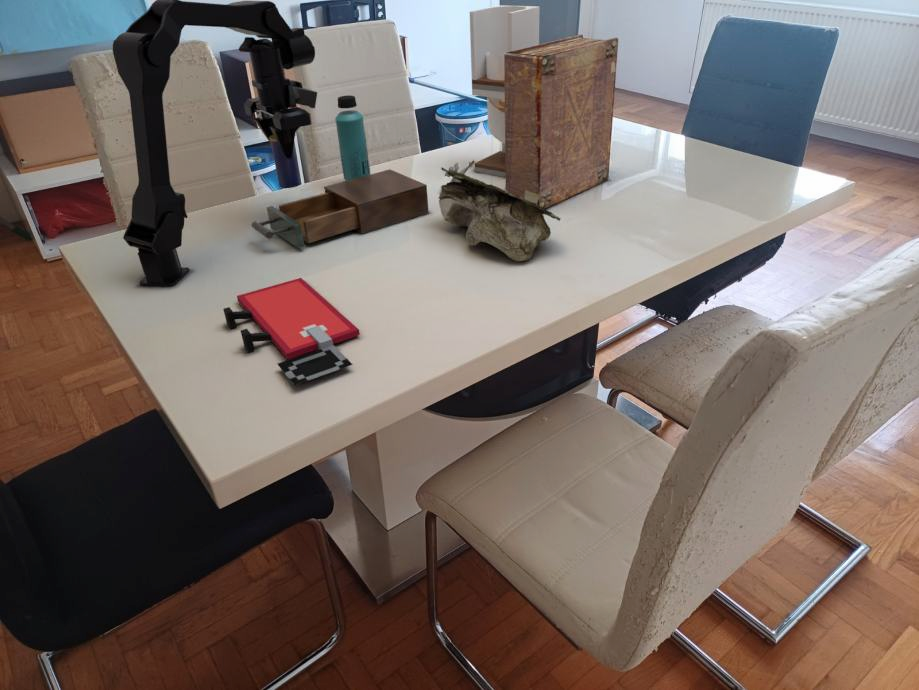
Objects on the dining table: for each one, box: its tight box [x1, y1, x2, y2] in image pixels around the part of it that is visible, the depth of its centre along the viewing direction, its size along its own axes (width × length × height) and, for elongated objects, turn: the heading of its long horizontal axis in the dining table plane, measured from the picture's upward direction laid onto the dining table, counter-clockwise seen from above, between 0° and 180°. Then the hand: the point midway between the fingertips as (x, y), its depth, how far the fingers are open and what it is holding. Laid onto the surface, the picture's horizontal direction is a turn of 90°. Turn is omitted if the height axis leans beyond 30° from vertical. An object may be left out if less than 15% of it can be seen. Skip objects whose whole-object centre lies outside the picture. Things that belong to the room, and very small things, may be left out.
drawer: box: [251, 192, 360, 249], centre depth 133 cm, size 20×13×5 cm, turn 127°
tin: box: [269, 135, 302, 189], centre depth 137 cm, size 5×5×10 cm
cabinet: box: [323, 169, 430, 235], centre depth 141 cm, size 16×14×6 cm
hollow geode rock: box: [438, 166, 562, 262], centre depth 125 cm, size 28×13×15 cm
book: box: [504, 34, 619, 210], centre depth 141 cm, size 25×9×30 cm, turn 136°
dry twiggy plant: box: [444, 159, 476, 182], centre depth 150 cm, size 10×6×9 cm
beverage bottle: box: [334, 94, 372, 181], centre depth 154 cm, size 6×7×20 cm
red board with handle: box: [223, 277, 361, 386], centre depth 102 cm, size 30×3×15 cm
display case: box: [469, 4, 541, 178], centre depth 155 cm, size 11×11×35 cm
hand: (284, 155), depth 137 cm, fingers closed on tin, 4 cm apart
